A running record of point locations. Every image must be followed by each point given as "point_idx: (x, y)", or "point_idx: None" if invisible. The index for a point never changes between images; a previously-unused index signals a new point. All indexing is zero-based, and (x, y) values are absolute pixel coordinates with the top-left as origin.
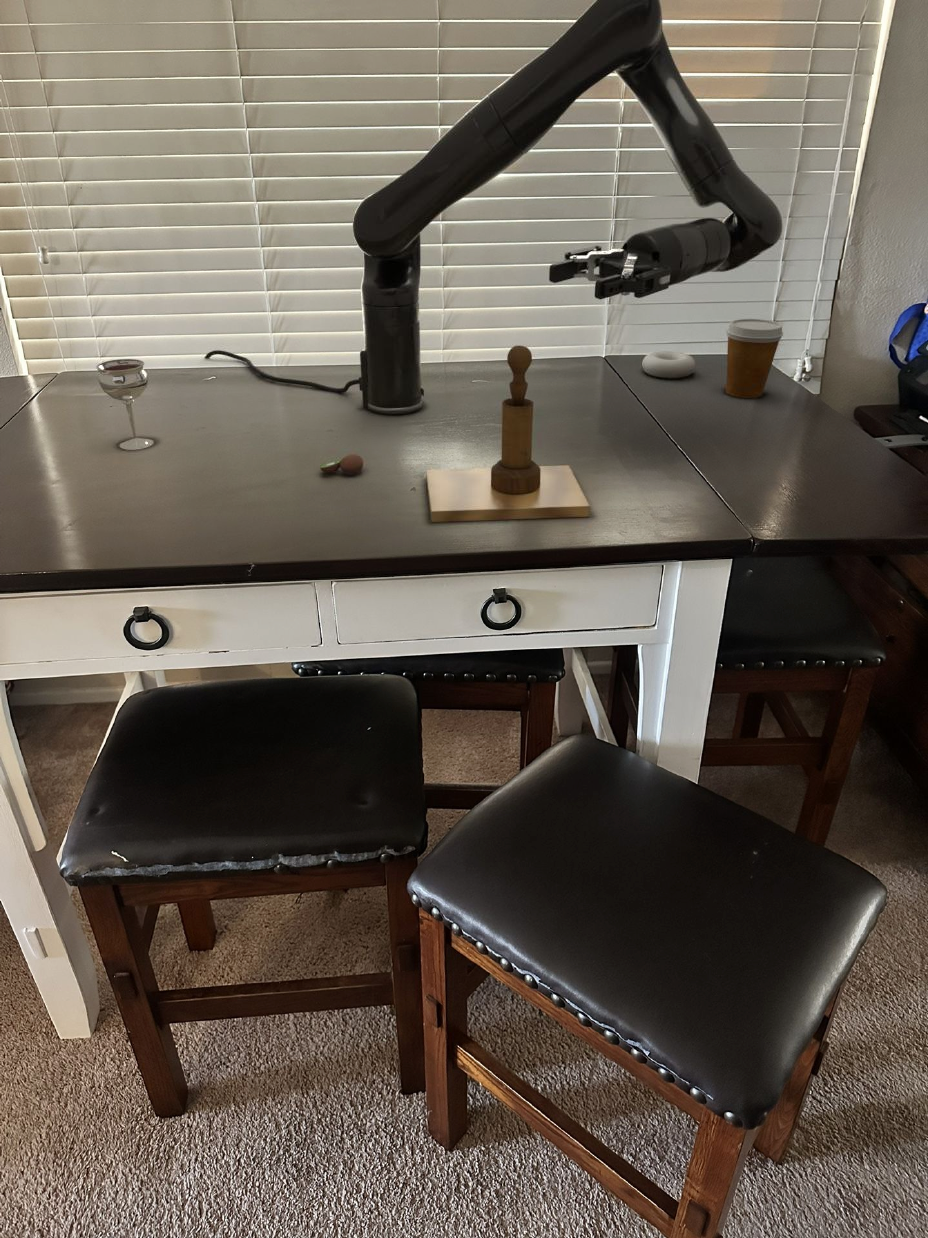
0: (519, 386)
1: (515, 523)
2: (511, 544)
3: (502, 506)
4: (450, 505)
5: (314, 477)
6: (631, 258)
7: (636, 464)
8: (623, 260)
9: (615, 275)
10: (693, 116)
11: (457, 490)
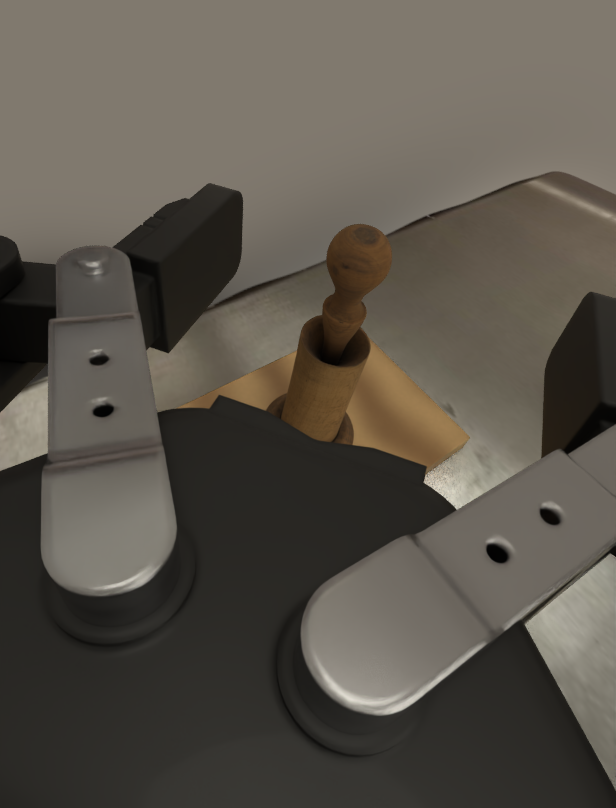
0: (331, 295)
1: (246, 372)
2: (221, 322)
3: (276, 368)
4: None
5: None
6: (113, 454)
7: None
8: (237, 559)
9: (165, 247)
10: None
11: (370, 389)
